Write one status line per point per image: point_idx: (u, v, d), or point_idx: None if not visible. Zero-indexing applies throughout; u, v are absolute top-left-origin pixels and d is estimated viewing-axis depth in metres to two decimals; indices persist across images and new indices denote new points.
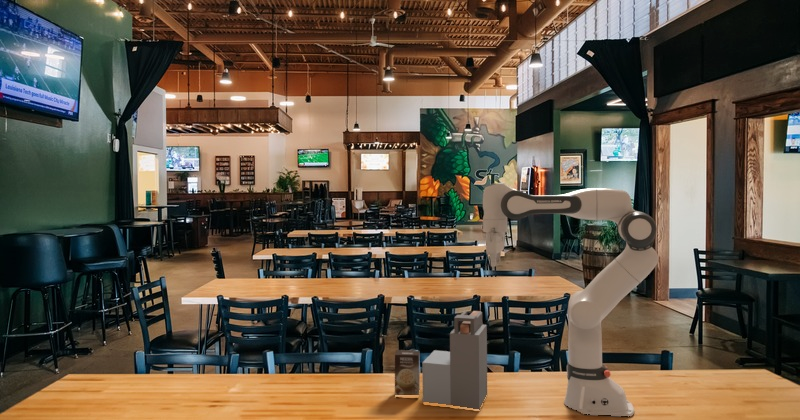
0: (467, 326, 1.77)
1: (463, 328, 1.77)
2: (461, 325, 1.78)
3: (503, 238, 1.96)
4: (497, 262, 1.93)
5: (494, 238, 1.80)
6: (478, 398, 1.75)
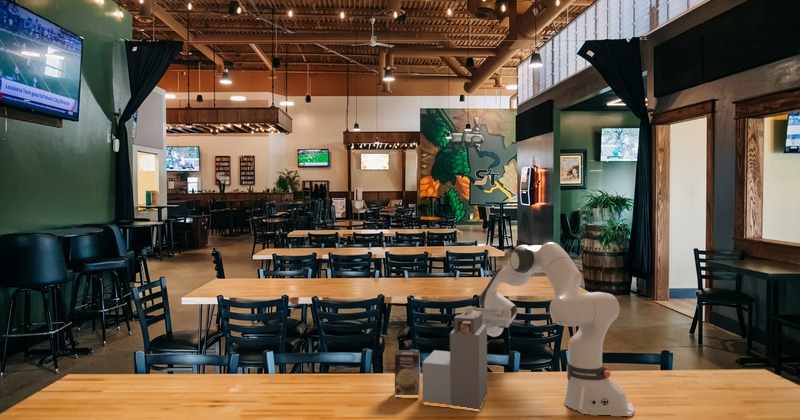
0: (467, 326, 1.77)
1: (463, 328, 1.77)
2: (461, 325, 1.78)
3: None
4: None
5: None
6: (478, 398, 1.75)
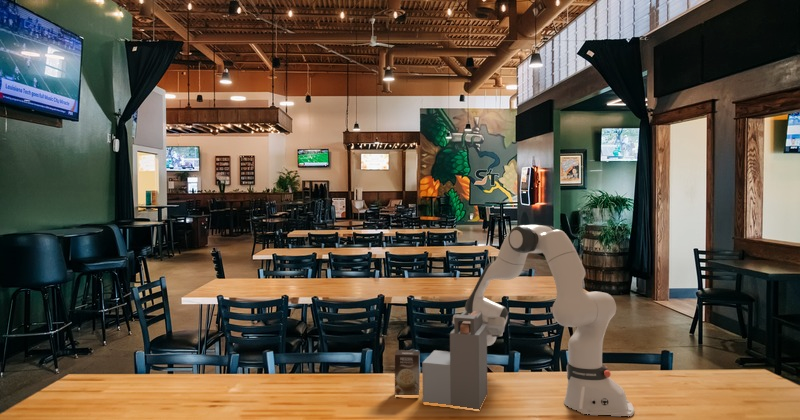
0: (467, 326, 1.77)
1: (463, 328, 1.77)
2: (461, 325, 1.78)
3: None
4: None
5: None
6: (478, 398, 1.75)
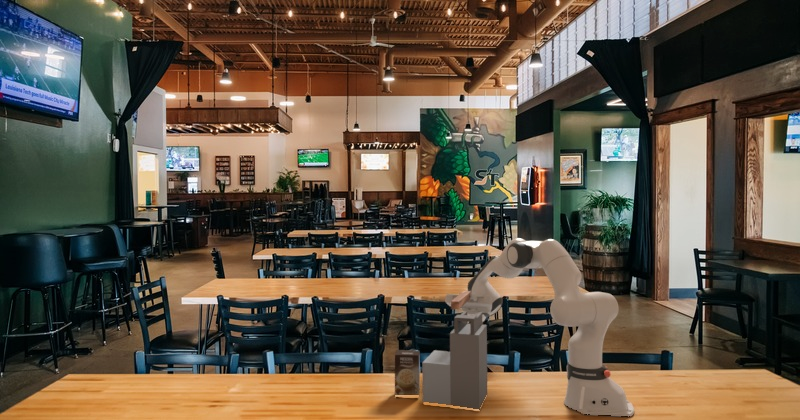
0: (457, 302, 1.97)
1: (453, 304, 1.97)
2: (452, 302, 1.97)
3: None
4: None
5: None
6: (478, 398, 1.75)
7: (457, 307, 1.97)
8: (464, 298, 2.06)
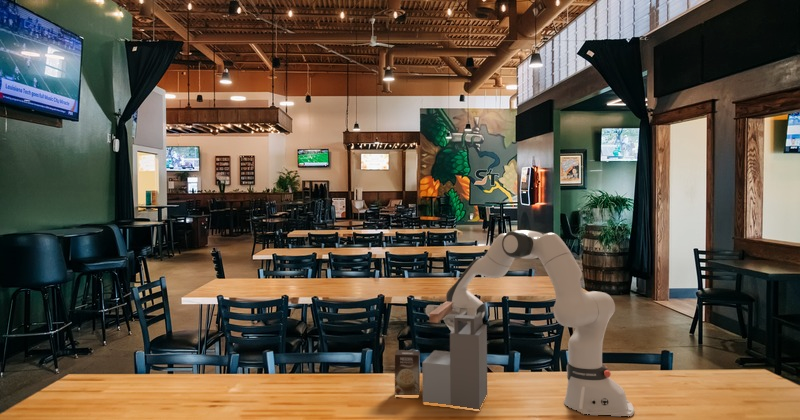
0: (436, 315, 1.81)
1: (432, 317, 1.81)
2: (430, 314, 1.81)
3: None
4: None
5: None
6: (478, 398, 1.75)
7: (436, 320, 1.81)
8: (444, 310, 1.90)
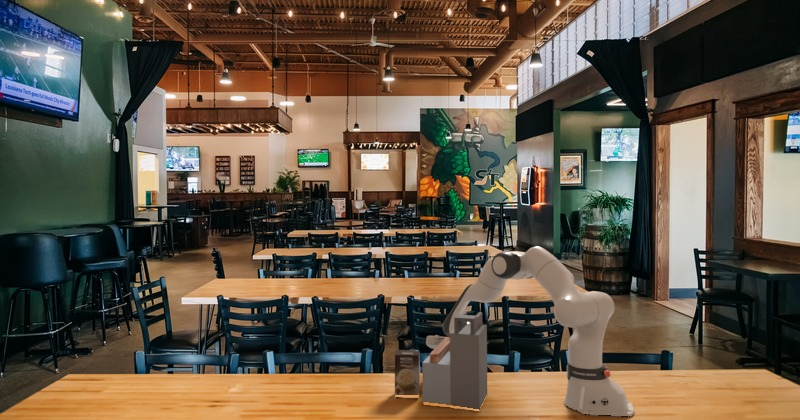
0: (436, 355, 1.81)
1: (432, 357, 1.81)
2: (431, 354, 1.82)
3: None
4: None
5: None
6: (478, 398, 1.75)
7: (436, 360, 1.81)
8: (445, 348, 1.90)
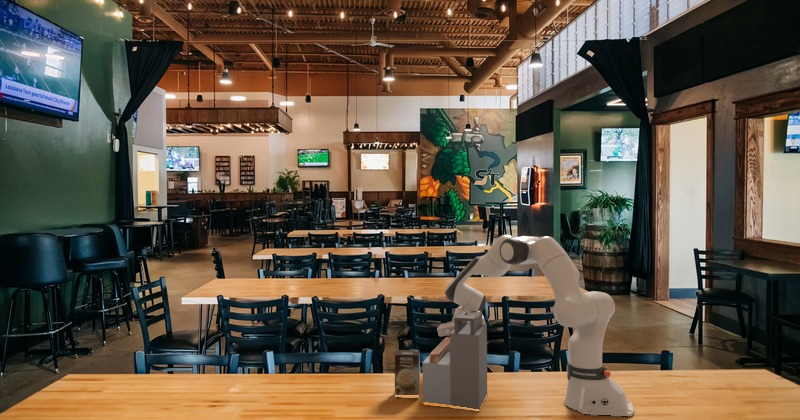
0: (436, 355, 1.81)
1: (432, 357, 1.81)
2: (431, 354, 1.82)
3: None
4: None
5: None
6: (478, 398, 1.75)
7: (436, 360, 1.81)
8: (445, 348, 1.90)
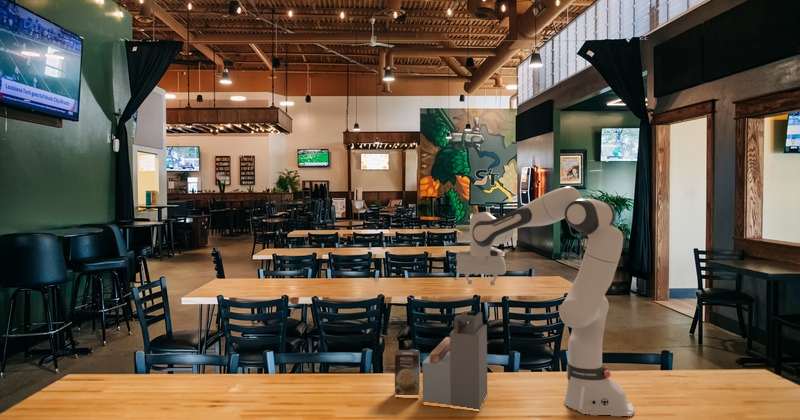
0: (436, 355, 1.81)
1: (432, 357, 1.81)
2: (431, 354, 1.82)
3: (499, 263, 2.09)
4: None
5: (457, 259, 2.15)
6: (478, 398, 1.75)
7: (436, 360, 1.81)
8: (445, 348, 1.90)
